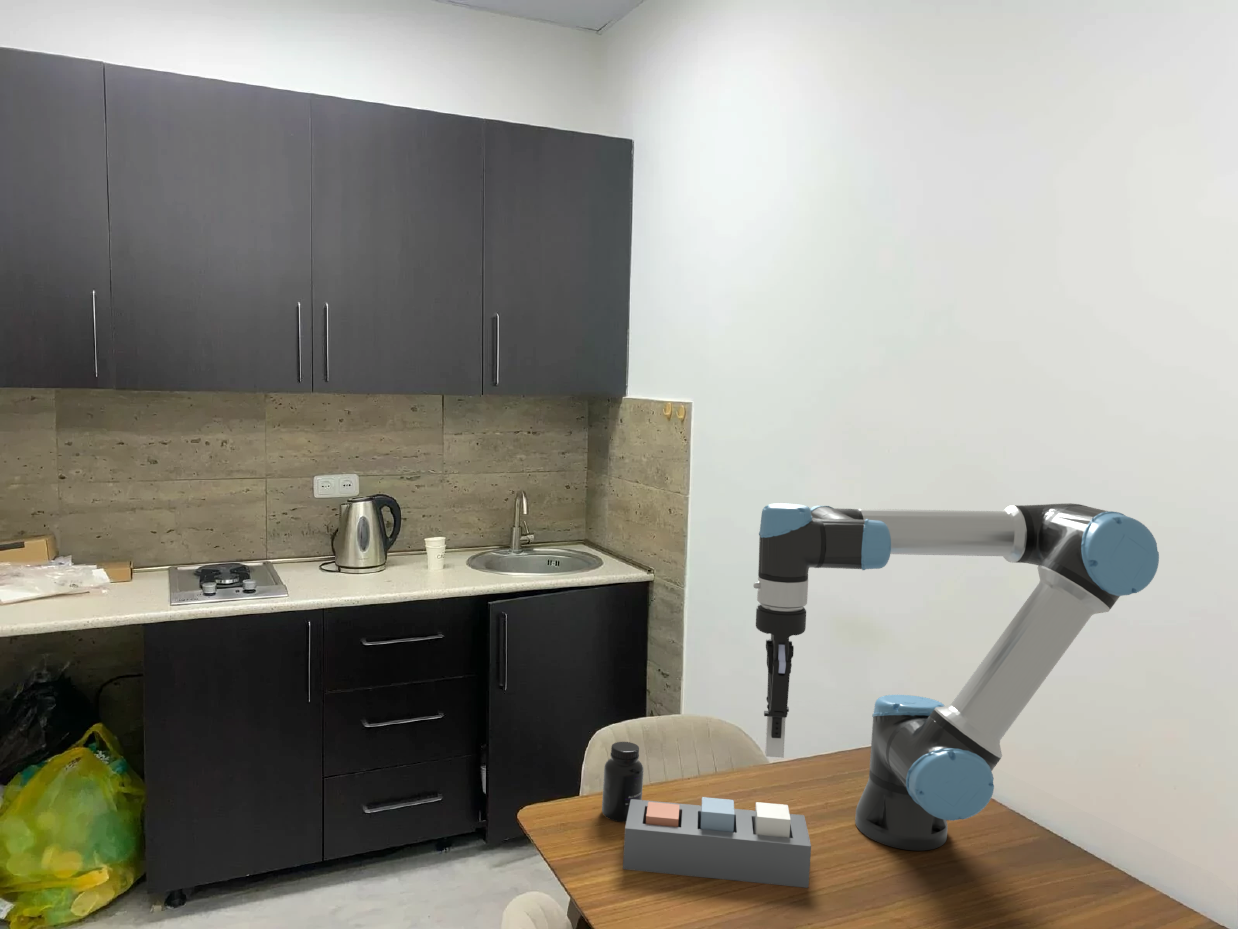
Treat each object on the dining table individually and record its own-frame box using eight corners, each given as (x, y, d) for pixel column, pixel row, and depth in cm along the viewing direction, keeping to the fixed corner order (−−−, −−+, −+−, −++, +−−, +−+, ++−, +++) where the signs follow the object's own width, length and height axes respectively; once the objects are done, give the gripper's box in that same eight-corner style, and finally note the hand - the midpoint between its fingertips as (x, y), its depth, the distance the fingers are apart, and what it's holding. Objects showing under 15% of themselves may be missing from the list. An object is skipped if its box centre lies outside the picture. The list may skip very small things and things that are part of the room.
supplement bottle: (637, 825, 152) (640, 756, 151) (597, 820, 153) (601, 751, 152) (644, 807, 158) (647, 741, 157) (606, 802, 160) (609, 736, 159)
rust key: (677, 834, 144) (679, 804, 144) (676, 850, 139) (678, 819, 139) (646, 831, 145) (648, 801, 144) (644, 847, 140) (646, 816, 139)
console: (801, 854, 145) (804, 815, 144) (808, 888, 135) (811, 846, 135) (628, 837, 148) (630, 799, 147) (622, 869, 138) (625, 828, 137)
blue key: (731, 830, 143) (733, 800, 143) (732, 846, 138) (734, 814, 138) (700, 827, 144) (702, 797, 143) (699, 842, 139) (701, 811, 138)
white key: (785, 835, 142) (787, 805, 142) (788, 851, 137) (790, 819, 137) (753, 832, 143) (755, 802, 142) (755, 848, 138) (757, 816, 138)
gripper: (754, 594, 144) (748, 737, 146) (758, 614, 131) (751, 771, 133) (802, 597, 143) (795, 740, 145) (811, 617, 130) (803, 774, 132)
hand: (774, 755), depth 139 cm, fingers closed
